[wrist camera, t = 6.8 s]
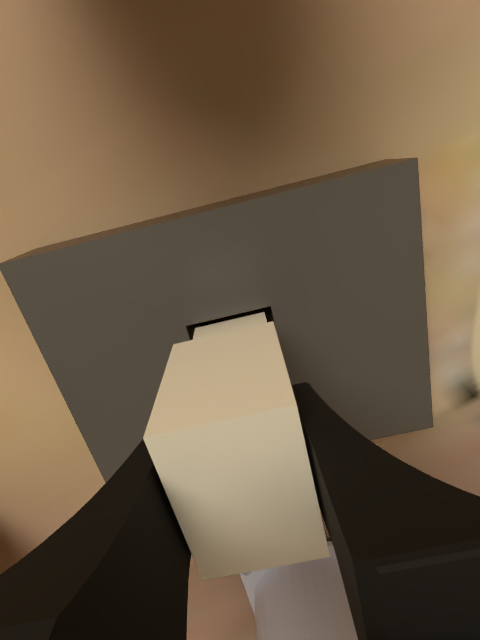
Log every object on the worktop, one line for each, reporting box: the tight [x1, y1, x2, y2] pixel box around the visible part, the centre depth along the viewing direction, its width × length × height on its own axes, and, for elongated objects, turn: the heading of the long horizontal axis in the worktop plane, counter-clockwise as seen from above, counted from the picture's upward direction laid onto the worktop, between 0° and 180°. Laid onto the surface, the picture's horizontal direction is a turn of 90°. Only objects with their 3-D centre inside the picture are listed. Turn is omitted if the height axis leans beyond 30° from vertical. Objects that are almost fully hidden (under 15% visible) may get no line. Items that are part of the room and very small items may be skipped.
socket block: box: [0, 158, 433, 483], centre depth 17 cm, size 12×16×3 cm
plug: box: [143, 312, 330, 581], centre depth 13 cm, size 5×3×8 cm
